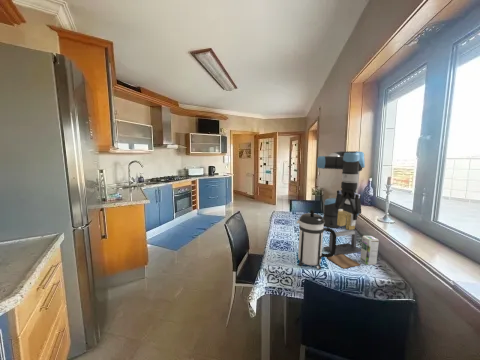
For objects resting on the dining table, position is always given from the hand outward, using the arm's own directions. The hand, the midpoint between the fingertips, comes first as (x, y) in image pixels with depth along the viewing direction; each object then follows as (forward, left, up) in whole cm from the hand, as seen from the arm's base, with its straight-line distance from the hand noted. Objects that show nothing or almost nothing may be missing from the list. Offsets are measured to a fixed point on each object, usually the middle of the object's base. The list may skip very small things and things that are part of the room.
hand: (346, 222), depth 112 cm
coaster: (0, 0, -22) cm, 22 cm away
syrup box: (-13, +5, -23) cm, 27 cm away
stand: (-11, -11, -22) cm, 27 cm away
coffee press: (+18, -4, -23) cm, 29 cm away
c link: (0, 0, -2) cm, 2 cm away
